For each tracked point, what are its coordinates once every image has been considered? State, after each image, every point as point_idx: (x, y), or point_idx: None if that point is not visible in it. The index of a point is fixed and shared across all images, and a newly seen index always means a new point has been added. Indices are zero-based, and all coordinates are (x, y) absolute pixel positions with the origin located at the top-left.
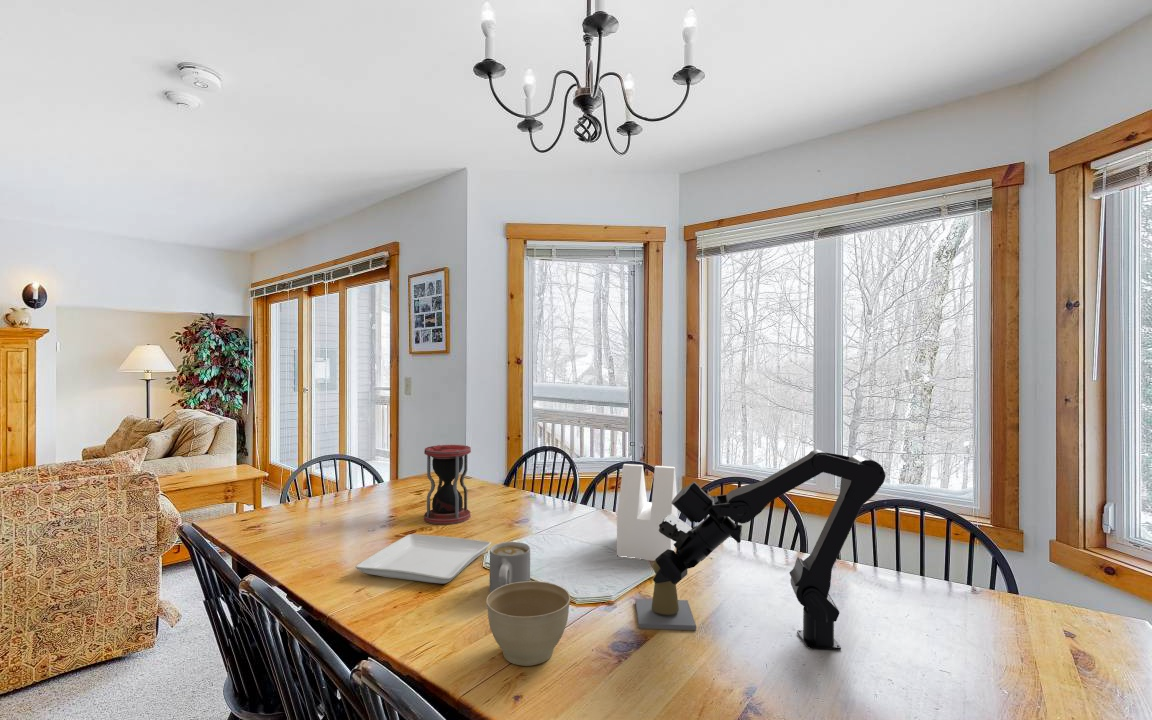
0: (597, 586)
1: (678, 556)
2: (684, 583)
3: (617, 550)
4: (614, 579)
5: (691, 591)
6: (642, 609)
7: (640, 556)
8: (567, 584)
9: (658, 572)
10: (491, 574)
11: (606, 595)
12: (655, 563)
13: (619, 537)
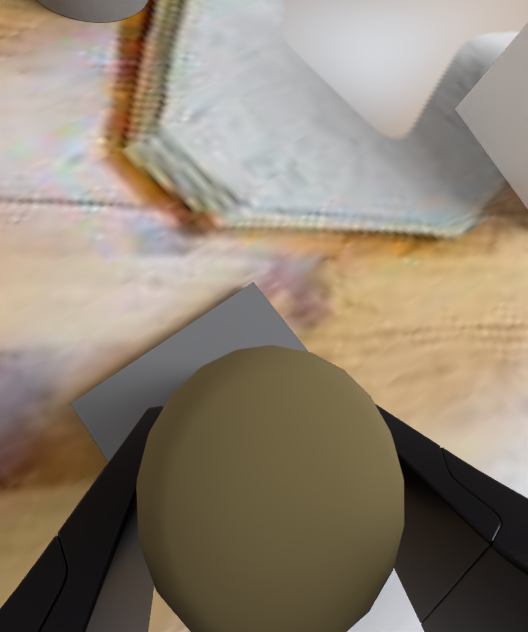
0: (267, 147)
1: (497, 591)
2: (479, 338)
3: (472, 91)
4: (340, 163)
5: (453, 388)
6: (193, 346)
7: (501, 154)
8: (219, 80)
9: (78, 512)
10: None
11: (234, 193)
12: (169, 411)
13: (517, 47)
